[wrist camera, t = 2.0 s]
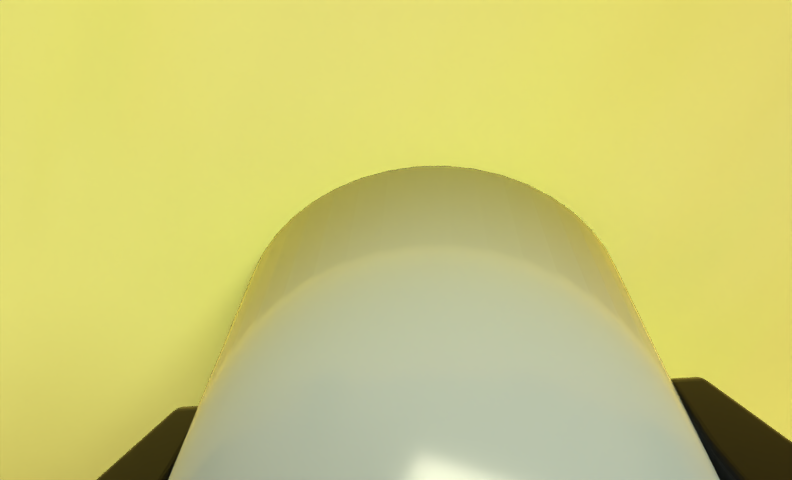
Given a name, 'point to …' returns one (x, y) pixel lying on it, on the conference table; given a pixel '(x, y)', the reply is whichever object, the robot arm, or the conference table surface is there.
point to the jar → (439, 347)
